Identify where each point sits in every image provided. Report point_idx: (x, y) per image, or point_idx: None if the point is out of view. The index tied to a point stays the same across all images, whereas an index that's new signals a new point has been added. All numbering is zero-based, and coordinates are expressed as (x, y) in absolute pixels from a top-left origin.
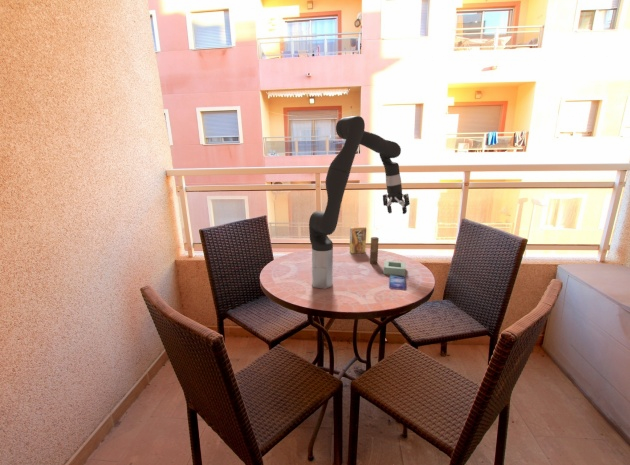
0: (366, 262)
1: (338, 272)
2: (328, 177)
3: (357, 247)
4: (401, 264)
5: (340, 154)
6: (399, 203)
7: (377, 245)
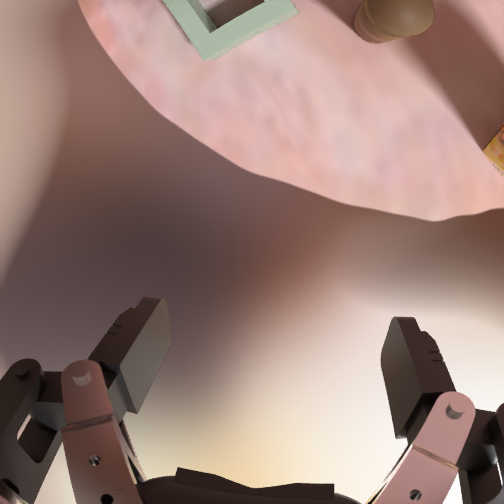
0: None
1: None
2: None
3: None
4: (197, 19)
5: None
6: (104, 426)
7: (362, 5)
